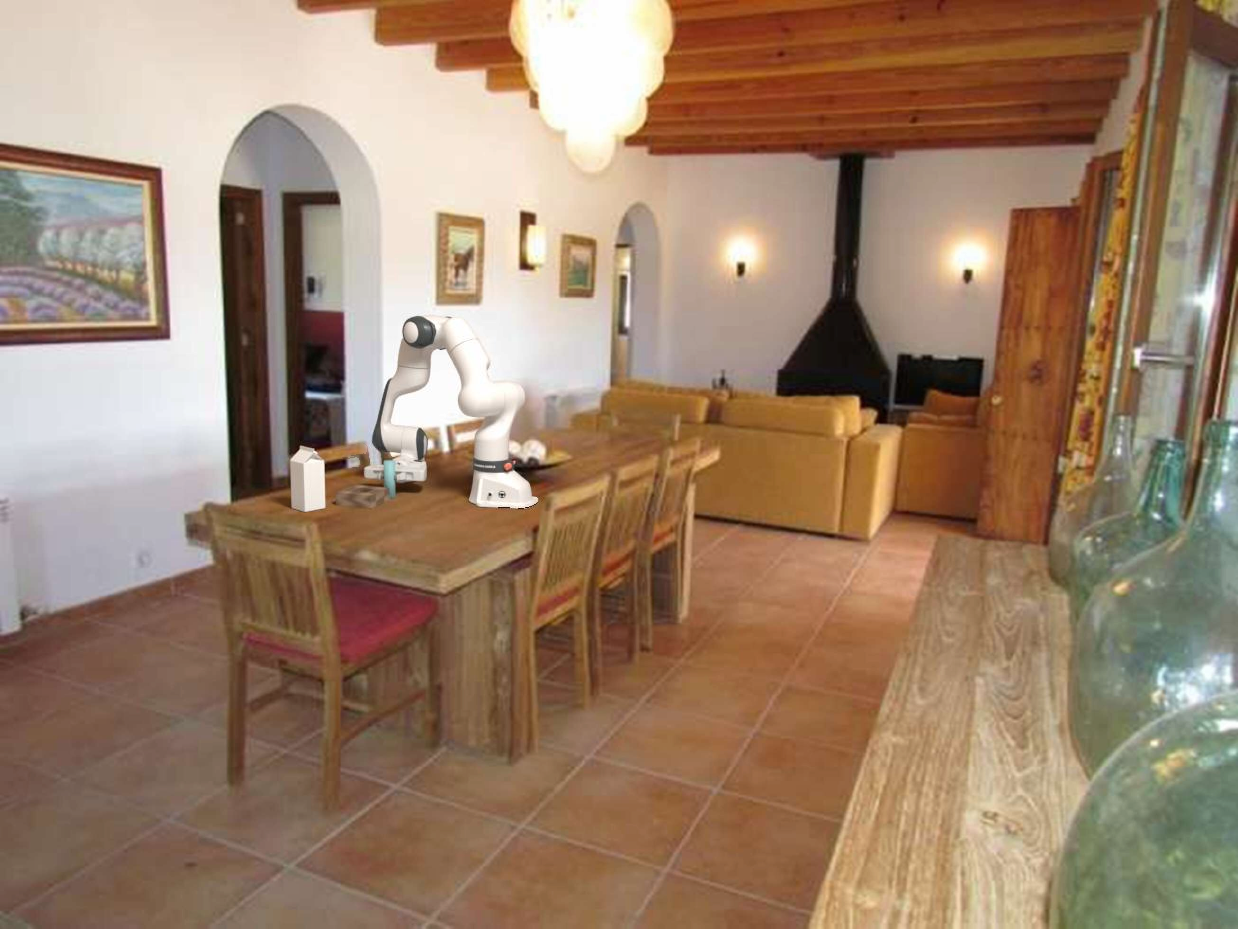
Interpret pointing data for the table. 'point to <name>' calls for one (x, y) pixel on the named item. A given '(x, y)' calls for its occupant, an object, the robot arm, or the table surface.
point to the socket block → (362, 496)
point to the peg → (389, 477)
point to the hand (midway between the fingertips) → (388, 477)
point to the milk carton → (307, 480)
